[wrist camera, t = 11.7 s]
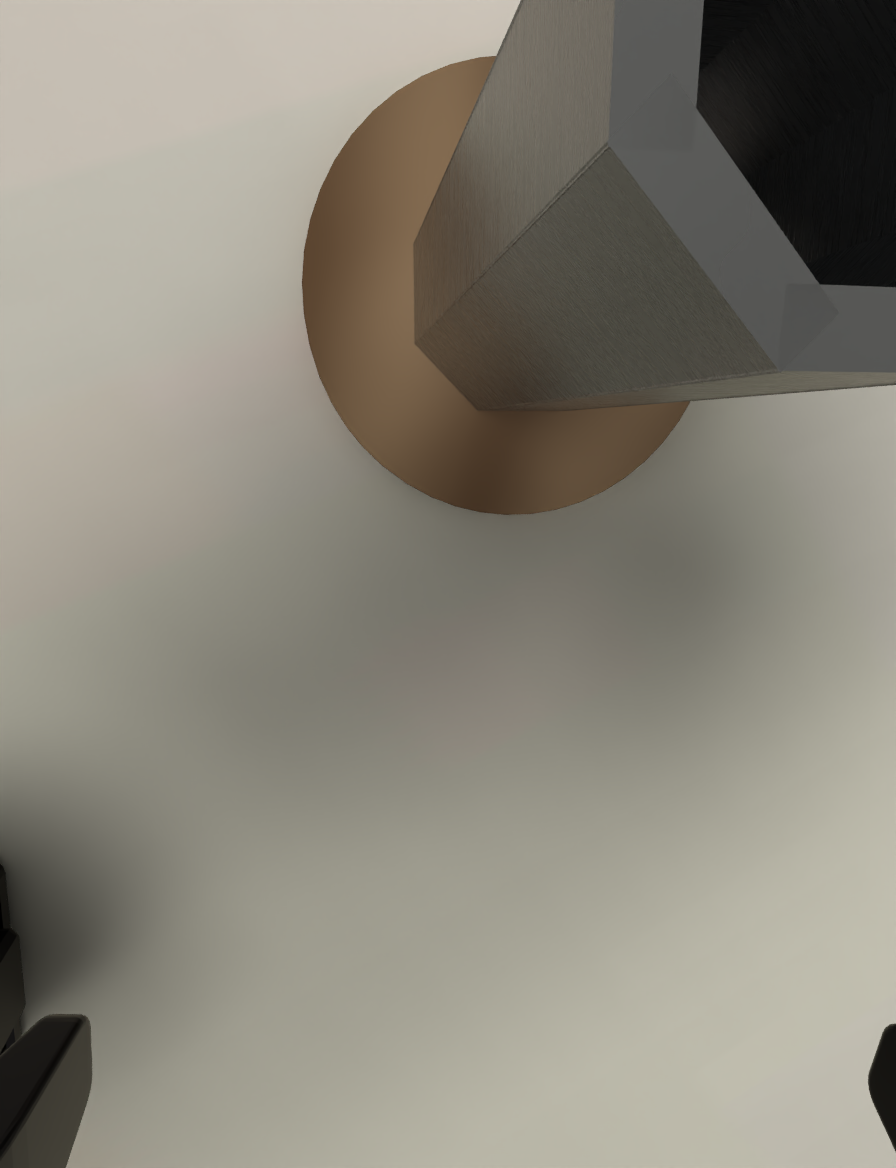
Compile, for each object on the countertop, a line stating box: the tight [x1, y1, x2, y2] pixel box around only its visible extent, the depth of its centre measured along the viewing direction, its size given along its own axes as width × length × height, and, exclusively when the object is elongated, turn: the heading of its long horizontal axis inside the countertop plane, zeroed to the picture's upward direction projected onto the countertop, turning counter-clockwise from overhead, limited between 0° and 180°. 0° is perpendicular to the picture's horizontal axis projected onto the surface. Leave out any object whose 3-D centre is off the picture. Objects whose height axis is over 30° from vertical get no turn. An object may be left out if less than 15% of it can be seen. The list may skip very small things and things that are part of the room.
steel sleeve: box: [413, 0, 896, 411], centre depth 11 cm, size 6×6×12 cm
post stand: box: [302, 56, 690, 515], centre depth 16 cm, size 11×11×5 cm
